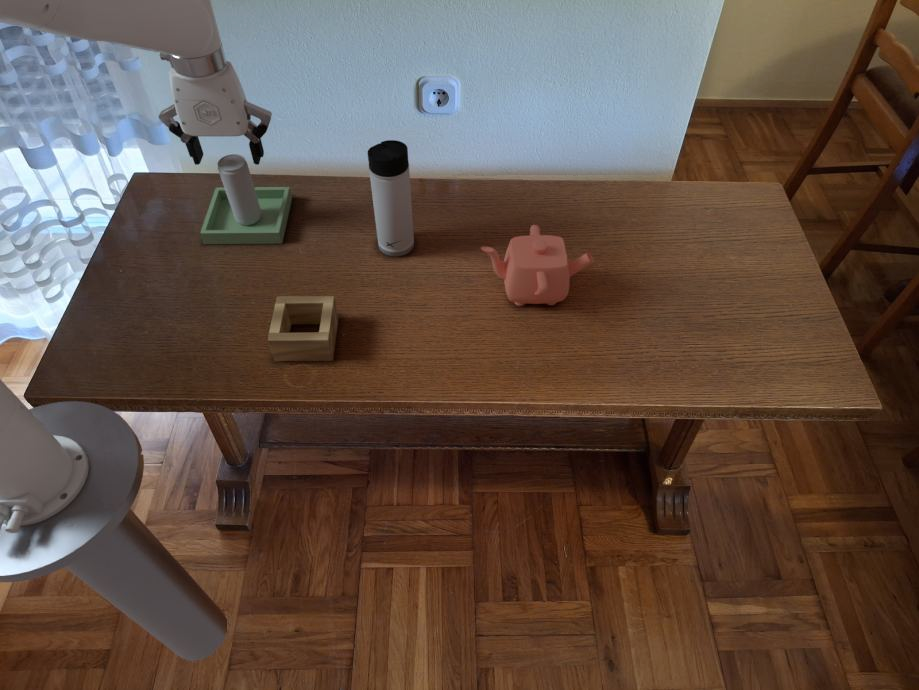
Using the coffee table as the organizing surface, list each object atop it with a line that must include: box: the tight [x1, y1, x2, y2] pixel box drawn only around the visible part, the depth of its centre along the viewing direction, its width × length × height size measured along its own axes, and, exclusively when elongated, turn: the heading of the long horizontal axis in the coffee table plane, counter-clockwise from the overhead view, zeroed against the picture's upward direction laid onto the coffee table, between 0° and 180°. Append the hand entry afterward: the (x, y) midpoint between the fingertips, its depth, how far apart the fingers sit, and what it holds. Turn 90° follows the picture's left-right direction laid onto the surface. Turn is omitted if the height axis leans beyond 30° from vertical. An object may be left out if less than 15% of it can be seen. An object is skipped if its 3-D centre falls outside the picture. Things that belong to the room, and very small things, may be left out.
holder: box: [267, 295, 339, 362], centre depth 99 cm, size 9×9×5 cm
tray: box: [200, 186, 293, 245], centre depth 118 cm, size 13×14×3 cm
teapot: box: [480, 224, 595, 306], centre depth 104 cm, size 14×12×10 cm
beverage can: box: [217, 153, 262, 225], centre depth 113 cm, size 5×5×12 cm
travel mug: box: [367, 139, 415, 257], centre depth 107 cm, size 6×7×20 cm
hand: (228, 159), depth 108 cm, fingers open, 9 cm apart
